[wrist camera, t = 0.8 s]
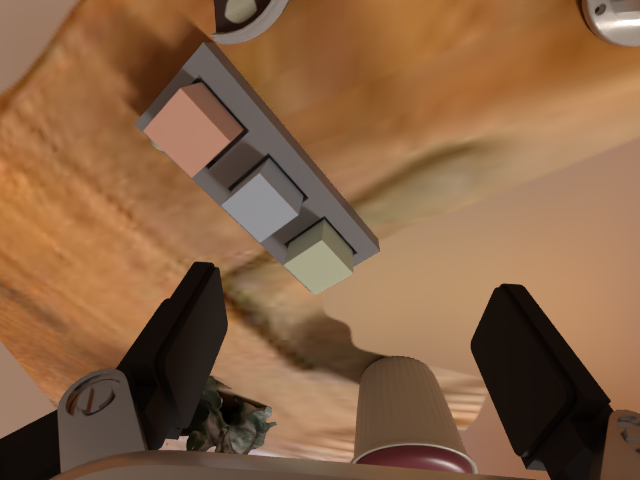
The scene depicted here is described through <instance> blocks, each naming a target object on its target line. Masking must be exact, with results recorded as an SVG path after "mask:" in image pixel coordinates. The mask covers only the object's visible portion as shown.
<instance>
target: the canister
mask: <svg viewBox="0 0 640 480" xmlns="http://www.w3.org/2000/svg"><path fill="white" fill-rule="evenodd" d="M351 463H355V464H367V465H379V466H390V467H402V468H414V469H425V470H437V471H448V472H459V473H470V474H478V470H477V466H476V463H475V462H474V460H473V459H472V458H471V457H470V456H469V455H468V454H467V452H466V449H465V447H464V445H463V442H462V439H461V437H460V434H459V432H458V429H457V427H456V424H455V422H454V419H453V417H452V414H451V412H450V409H449V407H448V404H447V402H446V400H445V397H444V395H443V393H442V390H441V388H440V386H439V384H438V382H437V380H436V378H435V376H434V374H433V372H432V371H431V370H430V369H429V368H428V367H427V366H426V365H425V364H424V363H422V362H420V361H419V360H415V359H414V358H410V357H404V356H392V357H386V358H382V359H380V360H377V361H375V362H373V364H370V365H369V367H367V368H366V370H365V371H364V373H363V375H362V378H361V381H360V387H359V397H358V407H357V419H356V433H355V445H354V458H353V459H352V461H351Z"/></svg>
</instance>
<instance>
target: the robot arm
mask: <svg viewBox="0 0 640 480" xmlns="http://www.w3.org/2000/svg"><path fill="white" fill-rule="evenodd" d="M595 9H596V12H595ZM582 10H583V13H584V17H585V20H586V22H587V24H588V26H589V28H590V29H591V31H592V32H593V33H594V34H595V35H596V36H597V37H598V38H599V39H601V40H603V41H605V42H607V43H609V44H613V45H618V46H633V47H635V46H640V0H582ZM227 327H228V321H227V315H226V309H225V302H224V296H223V289H222V283H221V277H220V271H219V268H218V267H214V264H213V263H209V262H194V263H193V265H192V266H191V268H190V269H189V271H188V272H187V274H186V275H185V277H184V278H183V280H182V281H181V283H180V284H179V286H178V287H177V288H176V290H175V291H174V293H173V294H172V296H171V297H170V298H167V299H165V300H164V301H163V302H162V303H161V305H160V306H159V307H158V309H157V310H156V312H155V313H154V315H153V316H152V318H151V319H150V320H149V322H148V323H147V325H146V326H145V328H144V329H143V331H142V332H141V333H140V335H139V336H138V338H137V339H136V341H135V342H134V344H133V345H132V346H131V348H130V349H129V351H128V352H127V354H126V355H125V357H124V358H123V359H122V361H121V362H120V364H119V365H118V367H117V368H116V369H101V370H98V371H95V372H92V373H89V374H87V375H86V376H84V377H82V378H80V379H79V380H78V381H76V382H75V383H74V384H72V385H71V386H70V387H69V388H68V390H67V391H66V392H65V393H64V394H63V396H62V398H61V400H60V402H59V405H58V409H57V410H55V411H54V412H52V413H49V414H47V415H46V416H44V417H42V418H40V419H38V420H36V421H34V422H32V423H30V424H28V425H26V426H24V427H23V428H21V429H19V430H17V431H15V432H13V433H11V434H9V435H7V436H5V437H3V438H1V439H0V480H534V479H525V478H514V477H502V476H491V475H480V474H470V473H459V472H448V471H437V470H425V469H414V468H402V467H390V466H379V465H367V464H355V463H343V462H332V461H320V460H307V459H295V458H282V457H270V456H257V455H245V454H231V453H214V452H198V451H182V450H158V449H160V448H161V447H162V445H163V443H164V441H165V439H176V440H178V439H179V436H180V434H181V431H182V429H183V428H188V426H189V425H190V423H191V420H192V418H193V415H194V413H195V410H196V408H197V405H198V403H199V400H200V398H201V395H202V393H203V390H204V388H205V385H206V383H207V380H208V378H209V375H210V373H211V370H212V368H213V365H214V363H215V360H216V357H217V355H218V352H219V350H220V347H221V345H222V342H223V340H224V337H225V335H226V332H227ZM471 351H472V354H473V356H474V358H475V361H476V363H477V365H478V368H479V370H480V373H481V375H482V377H483V380H484V382H485V384H486V387H487V389H488V391H489V394H490V396H491V399H492V401H493V403H494V406H495V408H496V410H497V413H498V415H499V417H500V420H501V422H502V424H503V427H504V429H505V431H506V434H507V436H508V438H509V441H510V443H511V446H512V448H513V450H514V452H515V453H516V455H518V456H520V457H521V459H522V461H523V463H524V465H525V467H526V469H531V470H542V471H547V472H548V475H549V477H550V479H551V480H640V414H639V413H636V412H633V411H629V410H616V411H613V409H612V408H611V407H610V405H609V403H610V402H611V401H610V399H609V398H608V397H607V395H606V394H605V393H604V391H603V390H602V389H601V387H600V386H599V385H598V383H597V382H596V381H595V379H594V378H593V377H592V376H591V374H590V373H589V372H588V370H587V369H586V367H585V366H584V365H583V364H582V362H581V361H580V360H579V358H578V357H577V356H576V354H575V353H574V352H573V350H572V349H571V348H570V346H569V345H568V344H567V343H566V341H565V340H564V338H563V337H562V336H561V335H560V333H559V332H558V331H557V329H556V328H555V327H554V325H553V324H552V323H551V321H550V320H549V319H548V317H547V316H546V315H545V313H544V312H543V311H542V309H541V308H540V307H539V305H538V304H537V303H536V302H535V300H534V299H533V297H532V296H531V295H530V293H529V292H528V291H527V289H526V288H525V287H524V286H522V285H518V284H501V285H500V287H498V288H495V289H494V291H493V293H492V295H491V298H490V300H489V302H488V305H487V307H486V309H485V311H484V313H483V316H482V318H481V320H480V322H479V325H478V327H477V329H476V331H475V334H474V336H473V338H472V340H471Z"/></svg>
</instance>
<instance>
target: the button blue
mask: <svg viewBox="0 0 640 480" xmlns="http://www.w3.org/2000/svg"><path fill="white" fill-rule="evenodd" d="M302 200H303V195H302V193H301V192H300V191H299V190H298V189H297V188H296V187H295V186H294V185H293V183H292V182H291V181H290V180H289V179H288V178H287V177H286V176H285V174H284V173H283V172H282V171H281V170H280V169H279V168H278V167H277V166H276V164H275V163H274V162H273V161H272V160H271V159H270V158H268V159H267V160H266V161H265V162H264V163H263V164H261V165H260V166H259V167H258V168H257V169H256V170H254V171H253V172H252V173H251V174H250V175H249V176H247V177H246V178H245V179H244V180H243V181H242V182H240V183H239V184H238V185H237V186H236V187H235V188H234V189H233V190H232V192H231V193H230V194H229V196H228V197H227V198H226V200H225V201H224V202H223V204H222V205H221V206H222V207H223V208H224V209H225V210H226V211H227V212H228V213H229V214H230V215H231V216H232V217H233V218H234V219H235V220H236V221H237V222H238V223H239V224H241V225H242V226H243V227H244V228H245V229H246V230H247V231H248V232H249V233H250V234H251V235H252V236H253V237H254V238H255V239H256V240H257V241H258V242H259V243H260V242H262V241H263V240H265V239H266V238H267V237H269V236H270V235H272V234H273V233H274V232H276V231H277V230H278V229H280V228H281V227H283V226H284V225H285V224H287V223H288V222H289V221H291V220H292V219H294V218H295V217H296V216H298V215H299V211H300V208H301V204H302Z"/></svg>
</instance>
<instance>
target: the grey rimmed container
mask: <svg viewBox="0 0 640 480" xmlns="http://www.w3.org/2000/svg"><path fill="white" fill-rule="evenodd" d="M289 1H290V0H214V6H215V20H216V32H217V33H214V34H211V36H213V37H214V40H215V41H216V42H218V43H219V44H236V43H242V42H245V41H248V40H250V39H253V38H255V37H256V36H258V35H260V34H261V33H263V32H264V31H266V30H267V29H268V28H269V27H270V26H271V25H272V24H273V23H274V22H275V21H276V19H277V18H278V17H279V16H280V14H281V13H282V12H283V11H284V9H285V8H286V6H287V4H288V2H289Z"/></svg>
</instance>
